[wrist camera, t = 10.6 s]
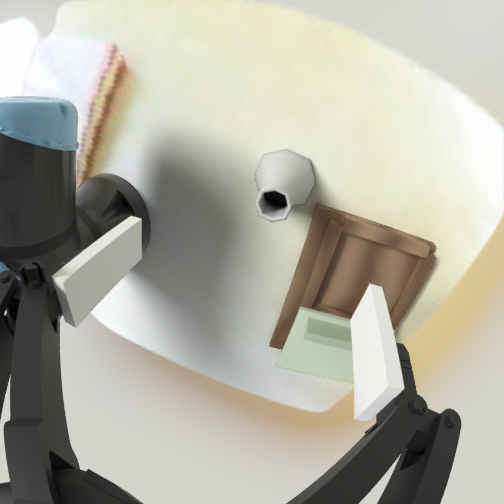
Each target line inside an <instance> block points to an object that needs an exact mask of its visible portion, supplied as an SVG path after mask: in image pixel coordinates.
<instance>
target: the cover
mask: <svg viewBox="0 0 504 504" xmlns="http://www.w3.org/2000/svg"><path fill="white" fill-rule="evenodd" d="M350 320H351V319H347V318H343V317H339V316H335V315H331V314H327V313H324V312H320V311H316V310H312V309H308V308H305V307H301V306H300V309H299V311H298V314H297V316H296V319H295V321H294V323H293V326H292V328H291V331H290V333H289V335H288V338H287V340H286V342H285V345H284V347H283V349H282V352H281V354H280V356H279V358H278V361H277V363H276V366H277V367H280V368H284V369H288V370H293V371H297V372H301V373H306V374H310V375H315V376H319V377H324V378H329V379H334V380H339V381H345V382H350V383H354V373H353V352H352V337H351V324H350ZM393 332H394V333H395V330H393Z"/></svg>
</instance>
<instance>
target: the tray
mask: <svg viewBox="0 0 504 504" xmlns="http://www.w3.org/2000/svg"><path fill="white" fill-rule="evenodd" d="M435 247H436V246H435V245H434V243H432V242H430V241H427V240H424V239H422V238H419V237H416V236H414V235H411V234H408V233H405V232H403V231H400V230H397V229H394V228H391V227H388V226H385V225H382V224H379V223H376V222H373V221H370V220H367V219H364V218H361V217H358V216H355V215H352V214H349V213H346V212H342V211H339V210H336V209H333V208H329V207H326V206H322V205H319V204H317V205H316V209H315V212H314V215H313V218H312V222H311V225H310V228H309V231H308V234H307V238H306V241H305V244H304V247H303V250H302V253H301V256H300V259H299V262H298V265H297V268H296V271H295V274H294V277H293V280H292V283H291V286H290V289H289V292H288V294H287V297H286V300H285V303H284V306H283V309H282V311H281V314H280V317H279V320H278V323H277V325H276V328H275V331H274V333H273V336H272V339H271V342H270V346H271V347H274V348H278V349H283V347H284V345H285V342H286V340H287V338H288V335H289V333H290V331H291V328H292V326H293V323H294V321H295V319H296V316H297V314H298V311H299V309H300V306H301V307H305V308H308V309H312V310H316V311H320V312H324V313H327V314H331V315H335V316H339V317H343V318H347V319H351V318H352V316H353V314H354V312H355V311H356V309H357V307H358V305H359V303H360V301H361V299H362V298H363V296H364V294H365V292H366V290H367V288H368V286H369V284H373V285H377V286H380V287H382V289H383V293H384V296H385V300H386V304H387V308H388V312H389V316H390V320H391V324H392V328H393V330H394V329H395V328H396V326H397V325H398V323H399V322H400V320H401V319H402V317H403V316H404V314H405V312H406V311H407V309H408V308H409V306H410V304H411V303H412V301H413V299H414V298H415V296H416V294H417V293H418V291H419V289H420V287H421V286H422V284H423V282H424V280H425V279H426V277H427V275H428V273H429V271H430V269H431V267H432V266H433V264H434V262H435V260H436V257H435V256H434V254H433V251H434V249H435ZM281 352H282V350H281Z"/></svg>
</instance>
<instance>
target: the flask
mask: <svg viewBox="0 0 504 504" xmlns="http://www.w3.org/2000/svg"><path fill="white" fill-rule="evenodd" d="M255 179H256V182H257V186H258V190H259V195H258V197H257V199H256V202H255V204H256V207H257V211H258V215H259V216H260V217H262V218H264V219H267V220H269V221H271V222H274V221H280V220H286V218H287V216H288V214H289V212H290V210H291V208H292V206H293V205H299V204H304V203H305V202H306V200H307V198H308V196H309V194H310V192H311V190H312V188H313V186H314V184H315V179H314V175H313V170H312V166H311V161H310V159H308V158H306V157H304V156H302V155H299V154H297V153H295V152H293V151H291V150H288V149H285V150H280V151H276V152H271V153H267V154H263V157H262V159H261V161H260V164H259V166H258V169H257V171H256V173H255Z"/></svg>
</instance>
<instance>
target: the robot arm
mask: <svg viewBox="0 0 504 504" xmlns="http://www.w3.org/2000/svg"><path fill="white" fill-rule="evenodd" d="M77 126H78V112H77V109H76V107H75V106H74V105H73V104H72V103H71V102H70V101H67V100H64V99H58V98H50V97H34V96H17V97H4V98H0V419H1V414H2V408H3V402H4V399H5V394H6V390H7V386H8V382H9V378H10V374H11V380H10V411H11V412H10V413H11V417H10V421H7V422H5V425H4V442H5V450H6V459H7V465H8V472H9V478H10V482H7V483H1V484H0V504H143V503H142V502H140V501H139V500H137V499H136V498H135V497H134V496H132V495H131V494H130V493H128V492H127V491H125V490H123V489H121V488H120V487H119V486H117V485H116V484H114V483H112V482H110V481H109V480H107V479H105V478H103V477H101V476H100V475H98V474H96V473H94V472H93V471H91V470H89V469H88V470H87V471H83V470H80V467H79V464H78V460H77V458H76V455H75V453H74V451H73V450H72V447H71V444H70V440H69V434H68V429H67V423H66V416H65V410H64V401H63V393H62V382H61V368H60V367H61V366H60V321H59V320H60V318H61V316H62V315H63V316H64V319H65V321H66V322H67V323H69V324H71V325H72V326H74V327H77V326H78V325H79V324H80V323H81V322H82V321H83V319H84V318H85V317H86V316H87V315H88V314H89V313H90V312H91V311H92V310H93V309H94V307H95V306H96V305H97V304H98V303H99V302H100V301H101V300H102V299H103V298H104V297H105V296H106V295H107V294H108V293H109V292H110V290H111V289H112V288H113V287H114V286H115V285H116V284H117V283H118V282H119V281H120V280H121V279H122V278H123V277H124V276H125V275H126V274H127V273H128V272H129V271H130V270H131V269H132V268H133V267H134V266H135V265H136V264H137V263H138V262H139V261H140V260H141V259H142V253H143V251H144V250H145V248H146V246H147V244H148V241H149V237H150V222H149V217H148V213H147V210H146V207H145V205H144V203H143V201H142V199H141V197H140V196H139V194H138V193H137V192H136V190H135V189H134V188H133V187H132V186H131V185H130V184H129V183H128V182H127V181H125V180H124V179H122V178H120V177H118V176H116V175H113V174H99V175H96V176H94V177H92V178H89V179H87V180H86V181H84V182H83V183H82V184H81V185H80V186H79V187H78V188H77V190H76V150H77V149H78V148H79V143H78V141H77ZM5 310H6V311H7V314H6V315H5V316H4V313H5ZM350 324H351V337H352V352H353V373H354V420H361V421H370V420H371V419H373V418H374V417H375V416H376V418H377V423H376V424H375V425H373V426H372V427H371V428H370V429H368V430H367V431H366V432H365V433H366V434H365V435H364V436H363V437H362V438H361V439H360V440H359V441H358V442H357V443H356V444H355V445H354V446H353V447H352V448H351V449H350V450H349V451H348V453H346V454H345V455H344V456H343V457H342V458H341V459H340V460H339V461H338V462H337V463H336V464H335V465H334V466H332V467H331V468H330V469H329V470H328V471H327V472H326V473H325V474H324V475H322V476H321V477H320V478H319V479H318V480H316V481H315V482H314V483H313V484H311V485H310V486H309V487H308V488H306V490H304V491H303V492H301V493H300V494H299V495H297V496H296V497H295V498H294V499H292V500H291V501H289V502H288V503H286V504H359V502H360V501H361V500H362V499H363V498H364V497H365V496H366V495H367V494H368V493H369V492H370V491H371V489H372V488H373V487H374V486H375V485H376V484H377V483H378V482H379V480H380V479H381V478H382V477H383V476H384V474H385V473H386V472H387V471H388V470H389V468H390V467H391V466H392V464H393V463H394V462H395V461H396V459H397V458H398V457H399V455H400V454H401V455H400V458H399V460H398V462H397V465H396V467H395V469H394V471H393V473H392V476H391V478H390V480H389V482H388V484H387V486H386V488H385V490H384V492H383V494H382V496H381V497H380V499H379V501H378V503H377V504H440V502H441V499H442V497H443V494H444V491H445V488H446V485H447V482H448V479H449V476H450V472H451V469H452V465H453V461H454V457H455V453H456V449H457V445H458V440H459V435H460V430H461V419H460V416H459V415H458V413H457V412H456V411H454V410H452V409H446V410H445V411H443V412H442V413H441V414H439V413H437V412H434V411H432V410H430V409H428V407H427V404H426V401H425V400H424V399H423V398H422V397H421V396H419V395H418V394H417V391H416V386H415V381H414V376H413V371H412V367H411V363H410V357H409V353H408V351H407V349H406V348H405V346H404V345H403V344H400V343H396V341H395V337H394V332H393V328H392V324H391V320H390V316H389V312H388V308H387V304H386V300H385V296H384V293H383V289H382V287H380V286H377V285H373V284H369V286H368V288H367V290H366V292H365V294H364V296H363V298H362V299H361V301H360V303H359V305H358V307H357V309H356V311H355V312H354V314H353V316H352V318H351V320H350Z"/></svg>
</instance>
